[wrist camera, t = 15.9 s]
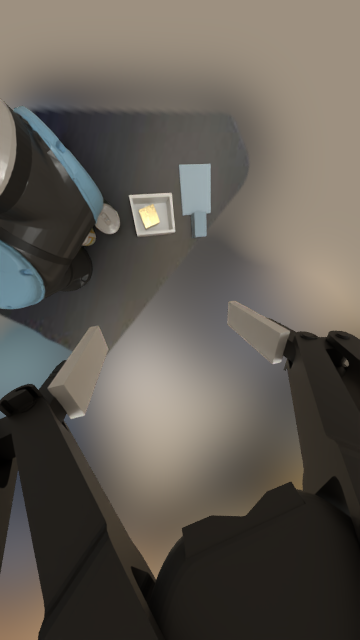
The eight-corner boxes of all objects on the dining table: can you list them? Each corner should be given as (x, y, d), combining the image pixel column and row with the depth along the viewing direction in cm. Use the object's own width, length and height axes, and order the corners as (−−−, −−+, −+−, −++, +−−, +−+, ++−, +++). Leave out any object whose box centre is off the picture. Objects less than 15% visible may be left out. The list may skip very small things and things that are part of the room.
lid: (178, 166, 37) (181, 158, 34) (209, 165, 39) (215, 158, 36) (184, 238, 45) (187, 238, 42) (209, 236, 46) (214, 235, 43)
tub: (137, 237, 42) (137, 235, 37) (130, 202, 38) (128, 195, 33) (171, 233, 43) (175, 231, 38) (167, 200, 40) (171, 192, 34)
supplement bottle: (71, 220, 37) (50, 212, 28) (94, 224, 38) (81, 217, 30) (75, 244, 39) (56, 243, 31) (97, 247, 41) (85, 246, 32)
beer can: (83, 204, 35) (85, 213, 27) (101, 192, 35) (108, 198, 28) (100, 227, 39) (105, 240, 32) (116, 216, 39) (126, 226, 32)
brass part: (145, 229, 41) (145, 228, 37) (138, 213, 39) (138, 210, 35) (158, 224, 41) (159, 222, 38) (152, 207, 39) (153, 203, 36)
